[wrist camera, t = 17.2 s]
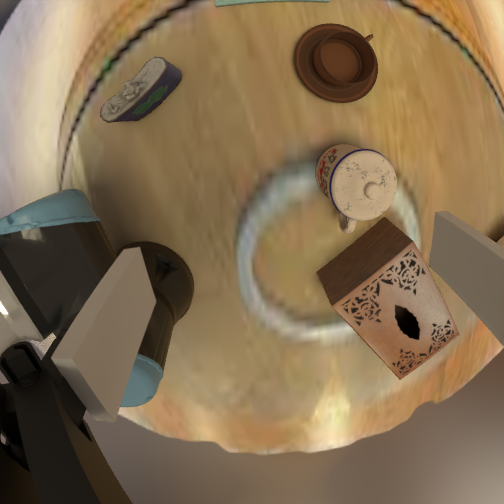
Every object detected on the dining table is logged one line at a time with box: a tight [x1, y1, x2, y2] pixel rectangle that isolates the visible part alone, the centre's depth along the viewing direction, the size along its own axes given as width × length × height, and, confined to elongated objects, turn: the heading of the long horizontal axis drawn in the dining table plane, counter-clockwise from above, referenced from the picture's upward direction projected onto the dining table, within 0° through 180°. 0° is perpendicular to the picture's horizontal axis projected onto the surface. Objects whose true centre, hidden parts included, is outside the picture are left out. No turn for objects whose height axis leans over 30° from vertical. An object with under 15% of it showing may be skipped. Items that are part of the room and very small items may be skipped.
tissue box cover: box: [317, 217, 459, 380], centre depth 48 cm, size 26×14×10 cm, turn 42°
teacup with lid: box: [316, 144, 397, 234], centre depth 38 cm, size 12×9×12 cm
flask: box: [100, 57, 182, 123], centre depth 31 cm, size 10×3×12 cm, turn 129°
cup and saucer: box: [295, 24, 378, 103], centre depth 33 cm, size 12×12×6 cm
